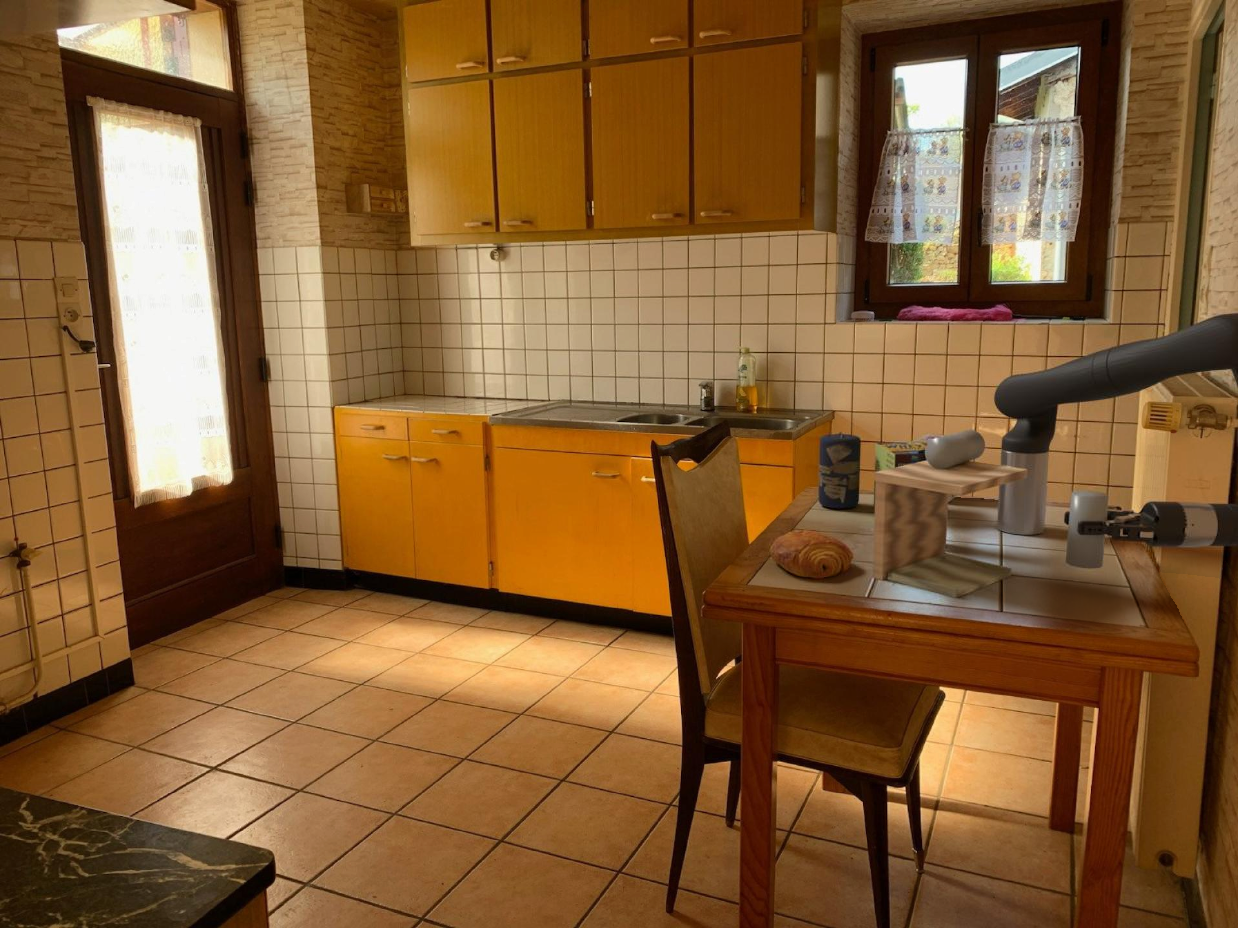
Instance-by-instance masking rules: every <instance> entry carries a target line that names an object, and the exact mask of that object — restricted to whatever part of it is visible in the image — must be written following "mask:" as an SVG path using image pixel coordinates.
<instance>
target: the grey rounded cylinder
mask: <svg viewBox="0 0 1238 928" xmlns="http://www.w3.org/2000/svg"><path fill="white" fill-rule="evenodd" d="M1109 498H1110V496H1109V494H1107V493H1105V492H1101V491H1095V490H1074V491H1071V494H1070V505H1069V511H1070V515H1069V525H1068V529H1067V539H1066V540H1067V541H1066V542H1067V543H1066V555H1065V563H1066V564H1067V565H1069V566H1072V567H1075V568H1078V569H1079V568H1080V569H1092V570H1094V569H1100V568H1102V567H1103V565H1104V552H1105V542H1106V541H1105V540H1106V537H1104V536H1103V534H1102V535H1080V534H1079V533H1078V532H1077V528H1078V522H1079V521H1102V522H1103V524H1104V521H1107V511H1108V507H1109Z"/></svg>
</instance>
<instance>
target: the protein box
mask: <svg viewBox="0 0 1238 928" xmlns="http://www.w3.org/2000/svg"><path fill="white" fill-rule="evenodd" d="M925 448H926V446H925V445H923V444H921V443H917V442H914V443H911V442H875V449H874V450H875V451H874V452H875V453H874V472H878V471H882V470H887V469H891V468H895V467H900V466H904V465H909V464H913V463H917V460H918V459H917V453H918V451H920V450H924V449H925ZM873 482H874V483H873V487H874V488H873V507H874V508H875V489H876V481H874V480H873Z"/></svg>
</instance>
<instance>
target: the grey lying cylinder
mask: <svg viewBox="0 0 1238 928" xmlns="http://www.w3.org/2000/svg"><path fill="white" fill-rule="evenodd" d="M945 435H946V436H943V437H939V438H935V439H932V440H931V441H930V442H929V443H928V444H927V446H926V448H925V457H926V459H927V461H928V463H929V464H930V465H931V466H932V467H934V468H937V469H945V468H948V467H951V466H954V465H958V464H961V463H964V462H967V461H974V460H977V459H978V458H980V457H981V456H983V454H984V452H985V449H986V442H985V439H984V437H983V436H982V435H981V433H979V432H978V431H977V430H973V429H967V430H962V431H959V432H954V433H951V434H948V435H947V434H945Z"/></svg>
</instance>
